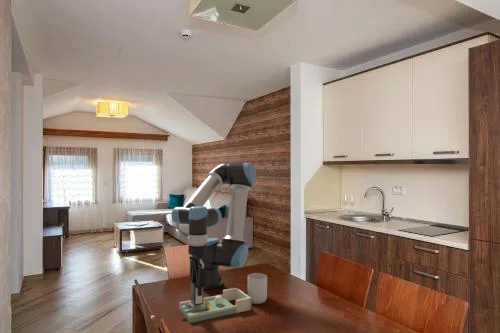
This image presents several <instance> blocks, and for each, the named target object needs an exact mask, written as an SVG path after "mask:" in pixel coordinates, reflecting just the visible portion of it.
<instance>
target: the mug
mask: <svg viewBox="0 0 500 333" xmlns="http://www.w3.org/2000/svg"><path fill="white" fill-rule="evenodd" d="M246 282H247V286H246V288H247V290H246V291H247V292H246V293H247V295H248V296H249V297H251V304H256V305H257V304H258V305H260V304H263V303H265V302H266V301H267V299H268V293H267V292H268V275H267V274H265V273H260V272H253V273H249V274H248V275H247V281H246Z"/></svg>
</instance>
